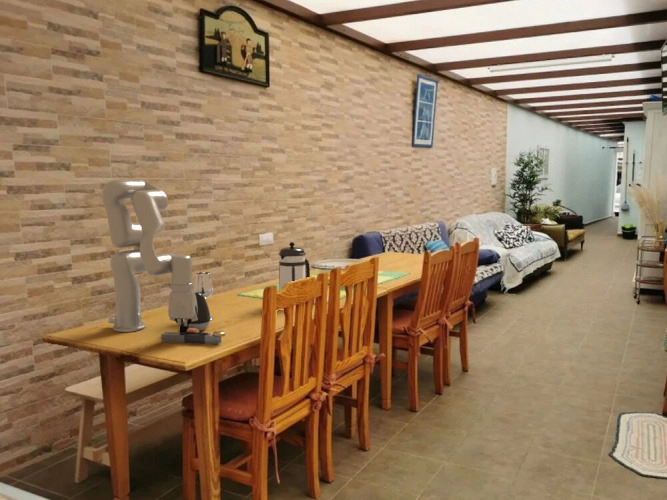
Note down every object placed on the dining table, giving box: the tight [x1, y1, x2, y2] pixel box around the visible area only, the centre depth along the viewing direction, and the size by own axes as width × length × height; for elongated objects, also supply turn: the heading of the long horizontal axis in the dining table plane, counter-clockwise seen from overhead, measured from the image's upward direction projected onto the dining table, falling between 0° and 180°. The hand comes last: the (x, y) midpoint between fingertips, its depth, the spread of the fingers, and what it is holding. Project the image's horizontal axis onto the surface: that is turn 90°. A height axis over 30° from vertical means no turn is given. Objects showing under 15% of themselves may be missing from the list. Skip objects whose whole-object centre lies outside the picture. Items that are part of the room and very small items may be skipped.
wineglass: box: [193, 271, 215, 321], centre depth 246 cm, size 8×8×20 cm
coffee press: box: [278, 241, 311, 290], centre depth 274 cm, size 17×16×30 cm
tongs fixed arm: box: [163, 330, 227, 344], centre depth 212 cm, size 24×4×4 cm, turn 80°
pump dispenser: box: [189, 291, 211, 332], centre depth 229 cm, size 10×10×15 cm
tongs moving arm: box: [160, 332, 221, 346], centre depth 211 cm, size 22×2×3 cm, turn 81°
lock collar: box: [187, 328, 200, 333], centre depth 215 cm, size 3×4×4 cm
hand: (184, 335), depth 217 cm, fingers closed
